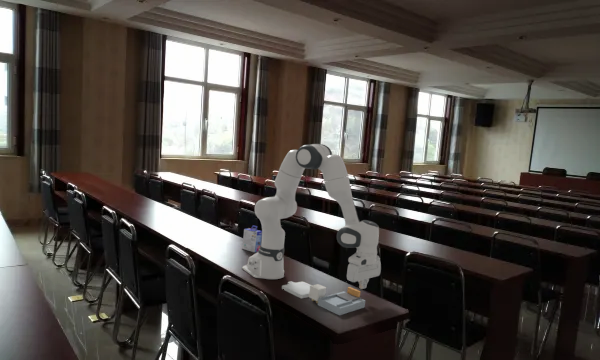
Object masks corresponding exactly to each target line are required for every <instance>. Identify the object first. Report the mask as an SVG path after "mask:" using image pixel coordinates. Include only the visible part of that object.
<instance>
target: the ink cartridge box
mask: <svg viewBox="0 0 600 360" xmlns="http://www.w3.org/2000/svg"><path fill="white" fill-rule="evenodd" d="M261 243H262V230H258V226H257V225H252V226H251V228H250V227H248V228H244V229H243V238H242V245H241V246H242V247H241V249H242V250H245V251H249V252H251V253H257V252H258V250H259V248H257V247H259V246H260V245H261Z"/></svg>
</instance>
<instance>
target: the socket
mask: <svg viewBox="0 0 600 360" xmlns="http://www.w3.org/2000/svg"><path fill="white" fill-rule="evenodd" d="M345 292H346V291H344V290H343V291H341V292H336V293H332V294H329V295H326V296H325V297H321V298H318V303H317V306H318V307H321V308H323V309H325V310H327V311H329V312H332V313H333V314H335V315H338V316H343V315H345V314H347V313H351V312H355V311H357V310H360V309H364V308H365V307H366V305H365V304H366V300H365V299H363V298H361V299H358V300H354V301H352V300H350V301H346V300H343V299H341V298H339V297H337V296H336V295H338V294H341V293H345Z"/></svg>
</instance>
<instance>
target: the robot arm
mask: <svg viewBox="0 0 600 360" xmlns="http://www.w3.org/2000/svg"><path fill="white" fill-rule="evenodd" d="M343 159H344V158H343V157H341V156H340V154H333V151H332V150H331V148H330V147H328V145H326V144H323V143H322V144H321V143H312V144H304V145H302V146H300V147H299V148H298V149H291V150H289V151H288V152H287V154H286V155H285V157H284V158H283V161H282V162H281V164H280V166H279V169H278V172H277V175H276V177H275V179H274V187H276V193H275V195H273V196H269V197H264V198H261V199H259V200H258V201H256V203H255V205H254V213H255V216H256V217H257V219H259V221H260V224H261V231H262V238H261V245H260V246H259V247H257V248H259V250H258V252H254V254H253V255H251V256H249V257H248V259H247V264H245V265H243V266H242V268H241V269H242V270H244V272H246V273H248V274H249V275H250V276H252V277H253V278H256V279H266V280H278V279H282V278H284V277H285V275H284V274H285V270H284V268H285V267H284V264H285V263H284V259H285V258H284V254H285V239H286V237H285V236H286V232H285V230H284V229H283V228H282V225H281V220H283V219H288V218H290V217H292V216H293V215H295V214H296V212H297V209H298V203H297V201H296V192H297V188H298V186H299V184H300V181H301V180H302V179H301V178H302V177H303V175H304V174H303V173H304V172H305V169H307V170H308V169H309V170H319V171H321V173H322V177H323V182H324V187H325V190H326V192H327V194H328V196H329V197H330V198H331V199H333V200H334V201H336V202H337V203H338V204H339V206H340V209H341V212H342V216H343V220H344V223H345V224H344V226H342V227H341V228H339V230H338V231H337V233H336V240H337V243H338V244H339V245H340V246H341V247H342V248H347V249H349V248H351V249H352V248H353V249H354V248H356V252H354V254H352V255H351V256H349V257H348V259H347V261H348V263H349V264H348V265H347V271H346V279H347V281H348V282H349V281H350V282H351V283H356V282H358V284H359V286H358V288H359V289H360V290H363V289H364V290H365V289H366V288H367V285H368V283H369V281H370V279H371V278H376V277H379V276H380V275H381V270H382V264H381V258H380V256H379V255H378V244H379V238H380V237H379V235H380V227H379V225H378V224H377V223H376V222H374V221H371V220H367V219H363V220H361V221H360V219H359V216H358V211H357V209H356V205H355V201H354V198H353V195H352V189H351V183H350V178H349V174H348V171H347V167H346V165H345V162H344V160H343Z"/></svg>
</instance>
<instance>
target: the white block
mask: <svg viewBox="0 0 600 360" xmlns="http://www.w3.org/2000/svg"><path fill="white" fill-rule="evenodd" d="M311 285H312V284H311ZM326 294H327V287H326V286H324V285H321V284H320V283H316V284H313V285H312V286H310V291H309V297H308V298H309V299H311V301H312V302H315V303H316V304H318V298H321V297H325V296H327V295H326Z"/></svg>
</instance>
